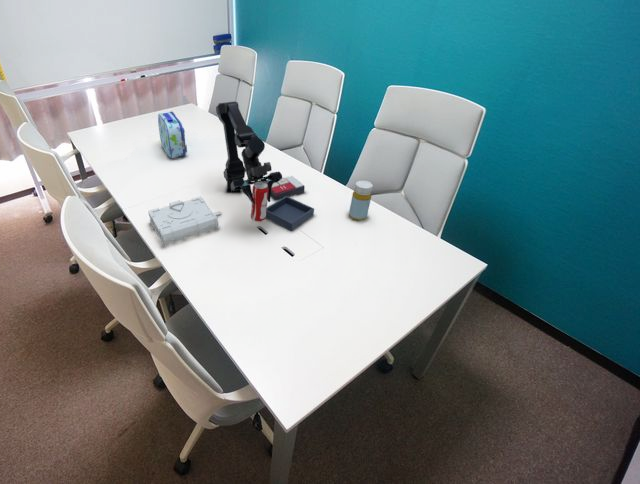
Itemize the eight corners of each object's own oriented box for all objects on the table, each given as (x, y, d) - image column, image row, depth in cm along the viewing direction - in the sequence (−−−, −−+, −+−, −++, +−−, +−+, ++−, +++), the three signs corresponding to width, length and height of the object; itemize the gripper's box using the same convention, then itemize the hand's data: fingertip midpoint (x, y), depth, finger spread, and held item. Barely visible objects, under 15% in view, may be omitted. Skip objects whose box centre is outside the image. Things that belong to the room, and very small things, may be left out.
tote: (263, 216, 142) (263, 209, 140) (285, 202, 151) (286, 195, 149) (291, 231, 134) (292, 223, 132) (313, 215, 142) (314, 208, 140)
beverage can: (249, 214, 134) (249, 181, 125) (266, 212, 134) (266, 179, 125) (252, 223, 129) (251, 189, 120) (269, 221, 130) (270, 187, 121)
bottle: (366, 213, 143) (374, 181, 134) (366, 222, 137) (373, 190, 129) (349, 210, 145) (355, 178, 136) (347, 219, 139) (354, 187, 131)
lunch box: (189, 158, 190) (185, 121, 178) (170, 162, 186) (164, 124, 174) (177, 141, 209) (172, 107, 197) (159, 145, 206) (154, 110, 194)
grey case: (231, 227, 137) (230, 211, 132) (162, 249, 126) (159, 232, 122) (211, 204, 151) (210, 189, 147) (148, 222, 141) (145, 206, 136)
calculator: (264, 182, 158) (292, 174, 162) (264, 190, 161) (292, 182, 165) (275, 193, 150) (305, 184, 154) (275, 201, 152) (304, 192, 157)
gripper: (231, 159, 118) (242, 202, 116) (281, 151, 123) (292, 193, 121) (226, 169, 129) (236, 209, 127) (272, 162, 134) (282, 200, 131)
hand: (261, 203), depth 126 cm, fingers closed on beverage can, 5 cm apart
